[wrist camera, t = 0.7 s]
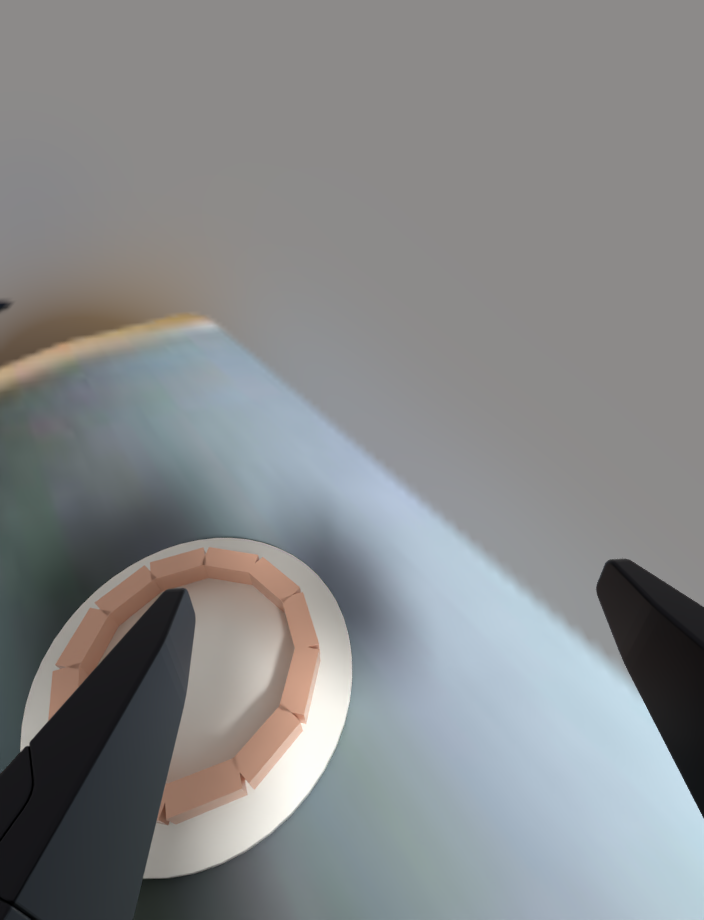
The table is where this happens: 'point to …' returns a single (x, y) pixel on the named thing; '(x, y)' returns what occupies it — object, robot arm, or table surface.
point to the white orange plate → (223, 691)
